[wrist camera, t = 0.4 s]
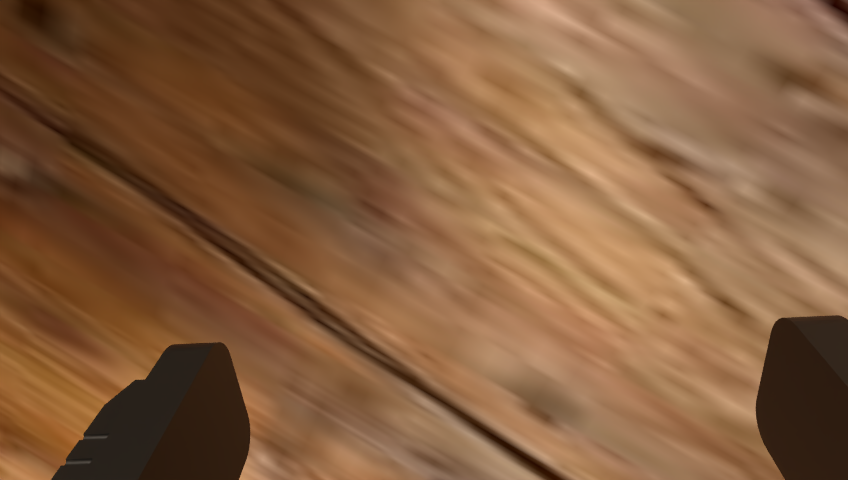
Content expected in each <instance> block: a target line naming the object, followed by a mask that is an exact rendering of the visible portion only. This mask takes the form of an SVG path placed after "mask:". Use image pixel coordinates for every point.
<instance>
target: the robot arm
mask: <svg viewBox="0 0 848 480" xmlns="http://www.w3.org/2000/svg"><path fill="white" fill-rule="evenodd" d="M756 418H757V424H758V428H759V432H760V435H761V438H762V440H763V443H764V445H765V446H766V448H767V450H768V452H769V453H770V455H771V457H772V458H773V460H774V462H775V463H776V465H777V467H778V468H779V470H780V472H781V474H782V475H783V477H784V479H785V480H848V320H847V319H846V318H844V317H842V316H814V317H792V318H781V319H778V320H777V321H776V322H775V324H774V326H773V328H772V331H771V335H770V340H769V344H768V349H767V353H766V358H765V363H764V367H763V372H762V377H761V381H760V386H759V390H758V395H757V400H756ZM83 435H84V439H83V440H79V441H78V443H77V444H76V446H75V447H74V448H73V450H72V451H71V452H70V454H69V455H68V457H67V458H66V464H65V466H60V468H59V469H58V471H57V472H56V473H55V475H54V476H53V478H52V479H51V480H239V478H240V475H241V472H242V470H243V467H244V464H245V462H246V459H247V455H248V451H249V444H250V423H249V418H248V414H247V410H246V407H245V404H244V400H243V397H242V393H241V390H240V387H239V383H238V380H237V376H236V373H235V370H234V366H233V363H232V359H231V356H230V353H229V350H228V349H227V347H226V346H225V345H224V344H223V343H221V342H218V343H196V344H175V345H171V346H169V347H168V348H167V349H166V350H165V351H164V352H163V354H162V355H161V357H160V358H159V360H158V361H157V363H156V364H155V366H154V367H153V369H152V370H151V372H150V373H149V375H148V376H147V378H146V379H145V380H135V381H134V382H132V383H131V384H130V385H129V386H127V387H126V388H125V389H124V390H122V391H121V392H120V393H119V394H118V395H116V396H115V397H114V398H113V399H111V400H110V401H109V402H108V403H106V404H105V405H104V406H103V408H102V409H101V411H100V412H99V413H98V415H97V416H96V418H95V419H94V420H93V422H92V423H91V425H90V426H89V427H88V429H87V430H86V432H85V433H84V434H83Z"/></svg>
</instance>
